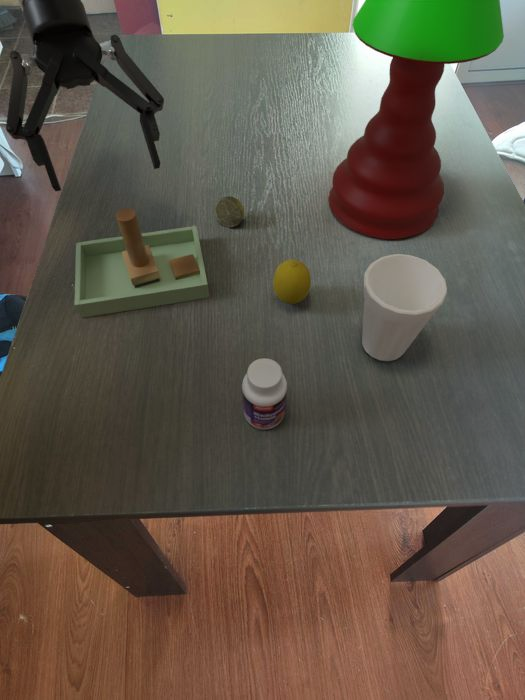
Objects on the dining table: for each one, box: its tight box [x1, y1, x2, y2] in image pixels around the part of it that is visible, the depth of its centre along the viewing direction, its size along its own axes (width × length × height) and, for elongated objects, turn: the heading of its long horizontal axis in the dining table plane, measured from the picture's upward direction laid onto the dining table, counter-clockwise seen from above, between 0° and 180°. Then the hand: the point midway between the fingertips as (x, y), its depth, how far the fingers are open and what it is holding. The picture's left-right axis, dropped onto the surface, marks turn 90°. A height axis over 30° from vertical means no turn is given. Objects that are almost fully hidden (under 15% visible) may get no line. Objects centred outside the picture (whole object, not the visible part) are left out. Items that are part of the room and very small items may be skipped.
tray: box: [74, 225, 210, 319], centre depth 74 cm, size 20×14×3 cm
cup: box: [361, 253, 448, 362], centre depth 62 cm, size 10×10×13 cm
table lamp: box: [328, 0, 505, 240], centre depth 67 cm, size 20×20×45 cm
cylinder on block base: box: [115, 207, 160, 288], centre depth 70 cm, size 4×6×11 cm
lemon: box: [272, 259, 312, 305], centre depth 69 cm, size 6×6×8 cm
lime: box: [215, 196, 245, 228], centre depth 80 cm, size 4×5×5 cm
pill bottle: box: [241, 357, 288, 430], centre depth 57 cm, size 5×5×10 cm
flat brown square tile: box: [169, 254, 200, 280], centre depth 75 cm, size 4×4×1 cm
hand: (108, 177), depth 63 cm, fingers open, 13 cm apart
